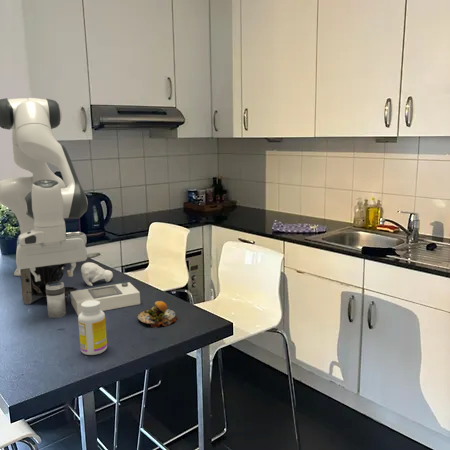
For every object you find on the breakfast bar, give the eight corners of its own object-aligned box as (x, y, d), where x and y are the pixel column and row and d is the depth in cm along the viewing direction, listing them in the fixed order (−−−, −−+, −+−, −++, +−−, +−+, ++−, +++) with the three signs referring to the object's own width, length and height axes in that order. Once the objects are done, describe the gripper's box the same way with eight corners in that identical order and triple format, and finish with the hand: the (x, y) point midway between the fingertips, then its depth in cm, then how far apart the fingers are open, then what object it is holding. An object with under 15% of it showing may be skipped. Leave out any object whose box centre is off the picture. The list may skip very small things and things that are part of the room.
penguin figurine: (80, 261, 170) (111, 260, 175) (79, 282, 171) (110, 280, 177) (82, 265, 165) (115, 263, 170) (82, 287, 166) (114, 285, 171)
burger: (145, 311, 144) (144, 289, 142) (181, 314, 142) (180, 291, 140) (131, 327, 132) (129, 303, 131) (170, 330, 130) (169, 305, 129)
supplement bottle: (110, 344, 121) (107, 298, 118) (103, 356, 114) (99, 308, 112) (85, 344, 121) (82, 298, 118) (76, 356, 115) (73, 308, 112)
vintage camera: (63, 309, 147) (61, 249, 143) (21, 304, 150) (18, 245, 146) (78, 299, 156) (77, 243, 153) (38, 294, 159) (36, 239, 156)
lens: (46, 313, 143) (44, 282, 141) (65, 309, 145) (62, 279, 143) (49, 319, 138) (46, 287, 136) (67, 315, 140) (65, 284, 138)
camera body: (71, 303, 151) (70, 289, 150) (130, 293, 160) (129, 280, 159) (77, 315, 140) (76, 300, 140) (140, 303, 150) (139, 290, 149)
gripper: (83, 229, 144) (87, 271, 146) (13, 236, 134) (17, 280, 137) (87, 232, 138) (91, 276, 141) (14, 240, 129) (19, 286, 131)
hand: (54, 278), depth 139 cm, fingers open, 8 cm apart
